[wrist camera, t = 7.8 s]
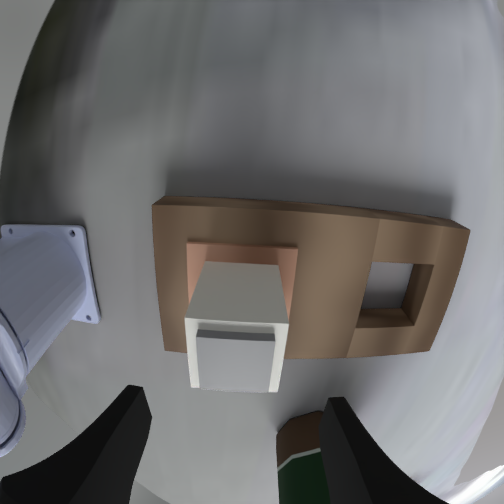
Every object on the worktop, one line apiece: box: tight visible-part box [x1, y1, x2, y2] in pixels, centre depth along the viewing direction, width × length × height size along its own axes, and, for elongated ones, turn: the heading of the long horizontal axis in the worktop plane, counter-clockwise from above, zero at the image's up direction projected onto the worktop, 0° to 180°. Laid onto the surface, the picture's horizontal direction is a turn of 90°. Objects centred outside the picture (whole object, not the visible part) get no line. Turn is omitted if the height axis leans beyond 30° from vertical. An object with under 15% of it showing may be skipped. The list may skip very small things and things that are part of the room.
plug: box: [185, 261, 289, 393], centre depth 14 cm, size 4×4×6 cm
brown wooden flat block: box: [152, 196, 470, 359], centre depth 18 cm, size 20×10×3 cm, turn 87°
